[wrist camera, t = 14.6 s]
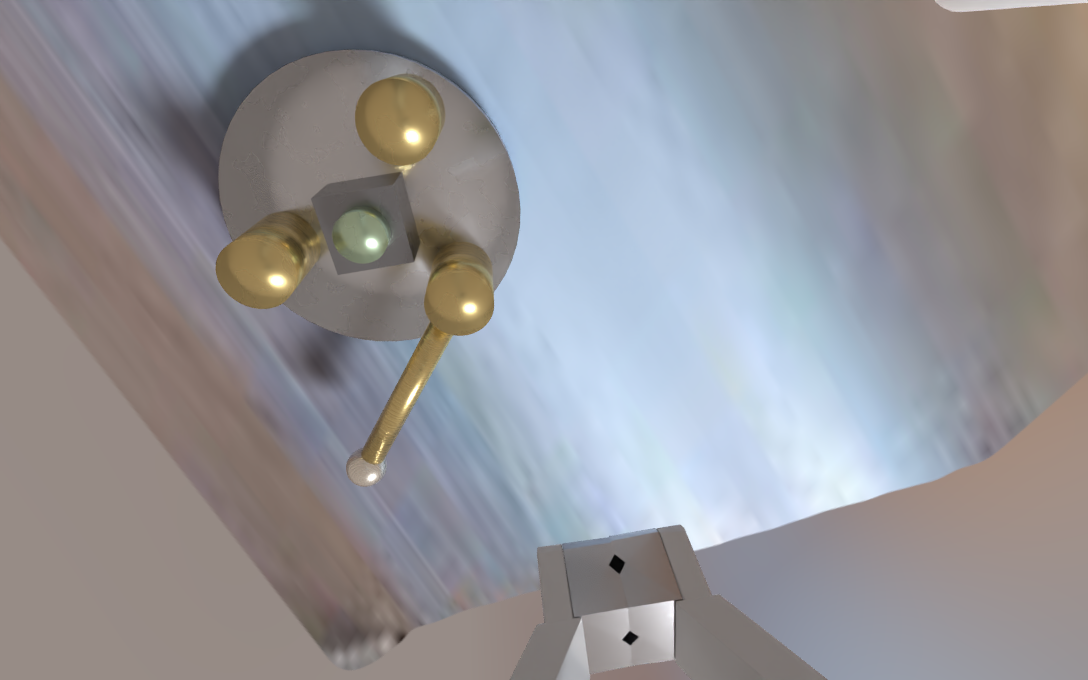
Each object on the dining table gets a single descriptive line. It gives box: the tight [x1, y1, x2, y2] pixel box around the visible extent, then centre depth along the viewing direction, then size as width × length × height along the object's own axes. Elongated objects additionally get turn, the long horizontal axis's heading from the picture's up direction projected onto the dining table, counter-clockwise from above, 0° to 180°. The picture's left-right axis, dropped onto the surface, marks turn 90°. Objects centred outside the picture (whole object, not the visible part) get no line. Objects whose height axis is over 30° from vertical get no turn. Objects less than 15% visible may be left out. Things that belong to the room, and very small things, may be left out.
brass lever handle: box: [346, 242, 494, 487], centre depth 40 cm, size 20×4×6 cm, turn 150°
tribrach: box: [216, 49, 520, 341], centre depth 35 cm, size 20×20×8 cm
